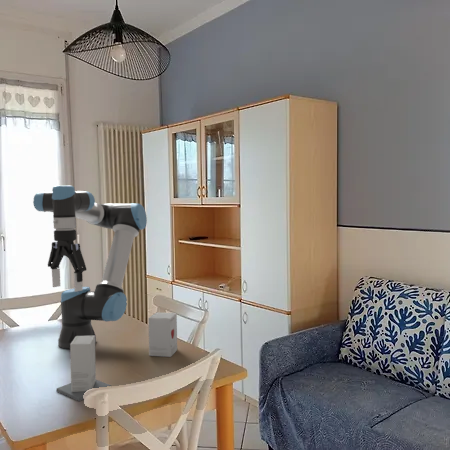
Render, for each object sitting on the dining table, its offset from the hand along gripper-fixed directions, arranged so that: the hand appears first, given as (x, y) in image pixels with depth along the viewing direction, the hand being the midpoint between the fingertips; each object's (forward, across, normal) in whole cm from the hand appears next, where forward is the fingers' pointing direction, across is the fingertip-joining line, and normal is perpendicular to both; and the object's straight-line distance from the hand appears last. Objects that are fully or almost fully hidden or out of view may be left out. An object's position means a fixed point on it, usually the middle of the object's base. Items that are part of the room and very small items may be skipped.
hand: (67, 288), depth 172 cm
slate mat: (+29, +21, -9) cm, 37 cm away
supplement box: (+29, +16, +31) cm, 45 cm away
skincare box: (+28, +21, -9) cm, 36 cm away
